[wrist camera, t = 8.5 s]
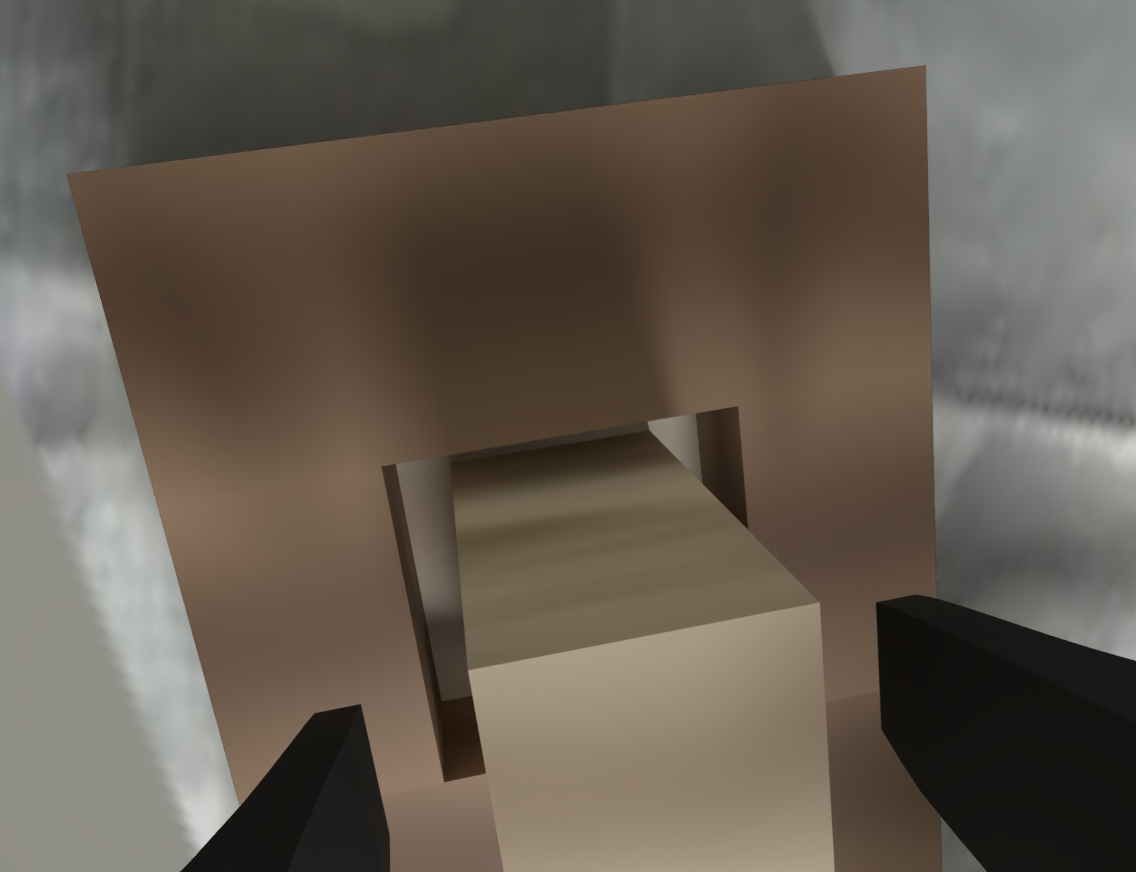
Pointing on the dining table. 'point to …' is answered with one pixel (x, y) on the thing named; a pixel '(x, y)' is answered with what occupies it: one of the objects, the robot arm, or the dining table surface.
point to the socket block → (527, 398)
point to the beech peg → (637, 668)
